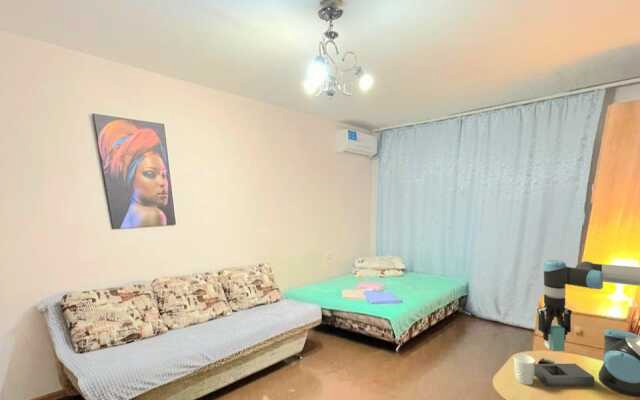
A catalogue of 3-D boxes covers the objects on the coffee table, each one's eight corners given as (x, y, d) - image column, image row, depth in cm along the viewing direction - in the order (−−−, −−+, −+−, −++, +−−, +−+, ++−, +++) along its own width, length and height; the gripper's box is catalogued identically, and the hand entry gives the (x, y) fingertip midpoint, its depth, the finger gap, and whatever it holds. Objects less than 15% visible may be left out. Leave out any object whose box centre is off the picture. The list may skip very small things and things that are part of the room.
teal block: (555, 344, 138) (555, 323, 137) (564, 350, 133) (564, 328, 132) (544, 345, 138) (544, 323, 138) (552, 350, 133) (552, 328, 133)
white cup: (538, 386, 131) (538, 364, 131) (518, 385, 133) (518, 362, 132) (529, 375, 139) (529, 354, 138) (510, 374, 140) (510, 352, 140)
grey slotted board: (575, 372, 141) (575, 363, 140) (594, 386, 131) (594, 376, 130) (531, 372, 141) (531, 364, 141) (546, 386, 131) (546, 377, 131)
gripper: (568, 292, 138) (568, 342, 139) (528, 293, 138) (528, 343, 139) (582, 298, 130) (582, 351, 131) (539, 299, 131) (539, 352, 132)
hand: (554, 347), depth 135 cm, fingers closed on teal block, 5 cm apart
